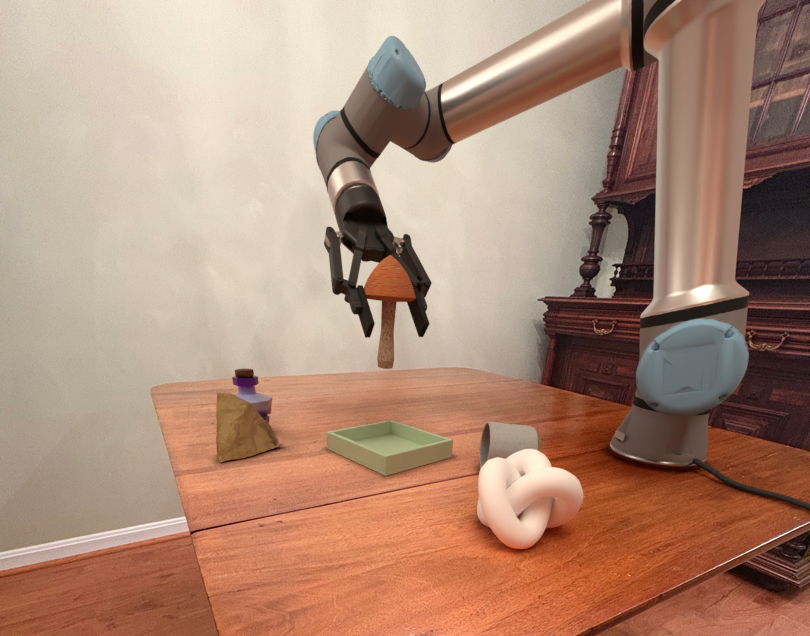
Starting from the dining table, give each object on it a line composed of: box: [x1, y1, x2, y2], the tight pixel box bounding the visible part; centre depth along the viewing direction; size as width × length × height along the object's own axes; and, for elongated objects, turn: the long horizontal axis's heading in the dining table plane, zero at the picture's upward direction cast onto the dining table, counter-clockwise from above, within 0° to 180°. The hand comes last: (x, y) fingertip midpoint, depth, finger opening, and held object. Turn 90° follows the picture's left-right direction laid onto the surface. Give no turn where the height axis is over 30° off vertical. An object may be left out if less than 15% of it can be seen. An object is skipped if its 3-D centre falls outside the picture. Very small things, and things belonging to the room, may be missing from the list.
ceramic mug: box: [478, 420, 542, 469], centre depth 67 cm, size 11×8×8 cm
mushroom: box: [363, 255, 416, 370], centre depth 63 cm, size 8×8×15 cm
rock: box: [215, 392, 281, 464], centre depth 71 cm, size 11×9×10 cm
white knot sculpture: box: [476, 449, 584, 550], centre depth 48 cm, size 11×12×9 cm
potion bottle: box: [231, 368, 273, 424], centre depth 79 cm, size 9×9×12 cm
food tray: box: [325, 419, 454, 477], centre depth 73 cm, size 17×15×3 cm
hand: (397, 330), depth 62 cm, fingers closed on mushroom, 8 cm apart
